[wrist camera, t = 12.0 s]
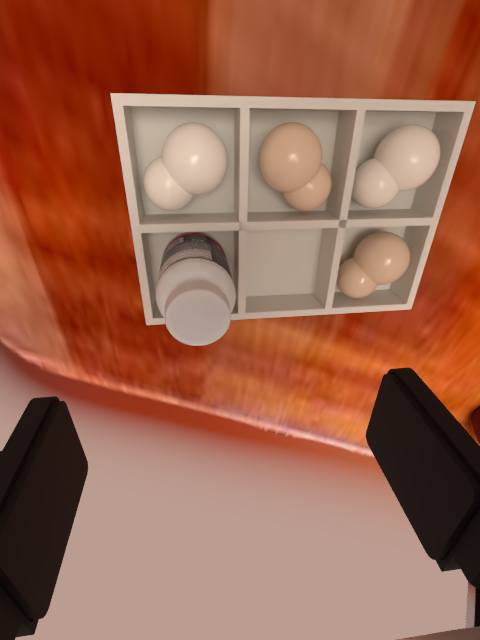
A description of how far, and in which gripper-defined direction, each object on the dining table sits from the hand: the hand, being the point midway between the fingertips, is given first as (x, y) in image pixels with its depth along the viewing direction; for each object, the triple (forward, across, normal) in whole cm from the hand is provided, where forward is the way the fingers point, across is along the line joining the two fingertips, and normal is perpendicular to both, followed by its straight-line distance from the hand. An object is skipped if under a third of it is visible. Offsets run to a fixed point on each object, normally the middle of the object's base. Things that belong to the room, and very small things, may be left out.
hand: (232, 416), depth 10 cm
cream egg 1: (+20, +1, -5) cm, 21 cm away
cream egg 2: (+20, -14, -4) cm, 25 cm away
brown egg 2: (+20, -14, +3) cm, 25 cm away
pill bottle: (+20, +1, +3) cm, 20 cm away
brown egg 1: (+20, -6, -4) cm, 22 cm away
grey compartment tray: (+21, -6, -1) cm, 22 cm away
